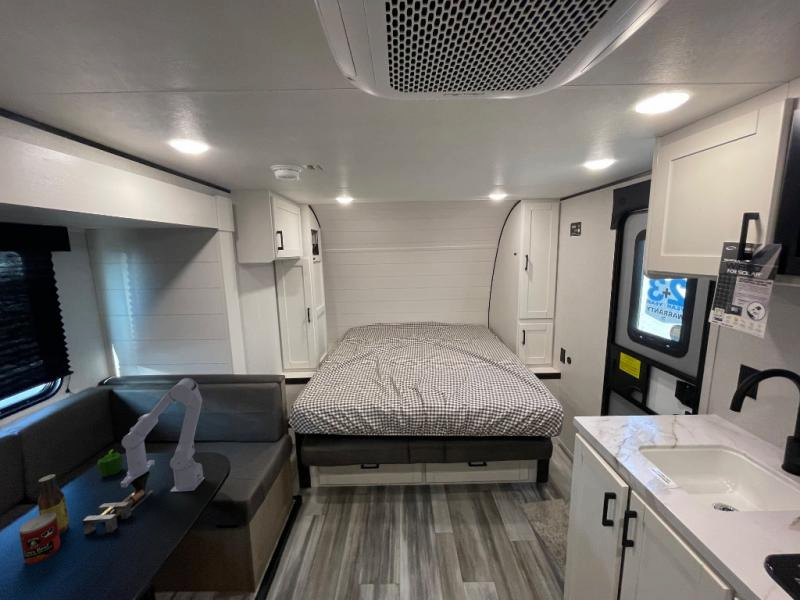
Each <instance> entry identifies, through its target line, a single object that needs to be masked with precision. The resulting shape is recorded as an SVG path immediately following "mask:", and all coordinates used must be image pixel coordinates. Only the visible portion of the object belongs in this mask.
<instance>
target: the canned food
mask: <svg viewBox="0 0 800 600" xmlns="http://www.w3.org/2000/svg"><path fill="white" fill-rule="evenodd" d="M19 538H20V543H21V544H20V545H21V550H22V556H23V561H24V563H25V564H26V565H33V564H37V563H40V562H42V561H44V560H46V559H48V558H49V557H51V556H52V555H53V554H55V553H56V552H58V550H59V549H60V546H61V537H60V534H59V530H58V523H57V517H56V514H55V513H52V512H51V513H46V514H42V515H37V516H35V517H34V518H32V519H30V520H28V521H26V522H25V523H24V524H23V525H21V526H20V527H19Z"/></svg>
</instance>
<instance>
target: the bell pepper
mask: <svg viewBox="0 0 800 600" xmlns="http://www.w3.org/2000/svg"><path fill="white" fill-rule="evenodd" d="M113 452H114V449H110V450H109V451H108V454H106V455H104V457H102V458H100V459H98V460H97V471H98V472H99V474H100V475H101V476H102V477H105V478H106V477H109V476H114V475H116V474H118V473H119V472H121V470H122V465H123V456H122V455H121V453H119V452H114V453H113Z"/></svg>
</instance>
